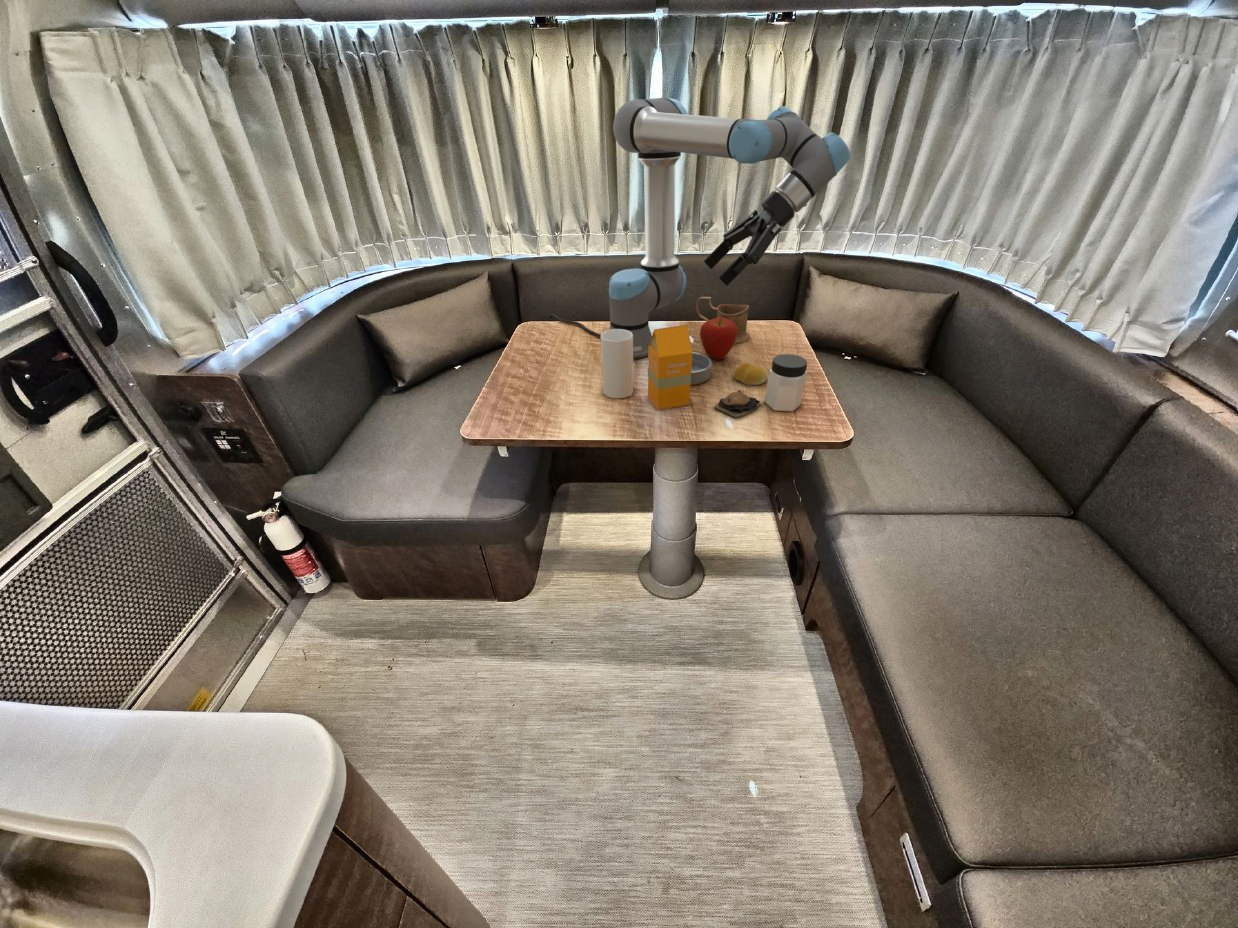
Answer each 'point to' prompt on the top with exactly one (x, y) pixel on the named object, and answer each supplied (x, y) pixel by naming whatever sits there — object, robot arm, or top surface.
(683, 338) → the orange juice
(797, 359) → the jar
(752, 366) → the bread roll
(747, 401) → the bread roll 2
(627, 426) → the top surface
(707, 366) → the pan
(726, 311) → the mug
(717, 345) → the apple
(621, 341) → the cup
